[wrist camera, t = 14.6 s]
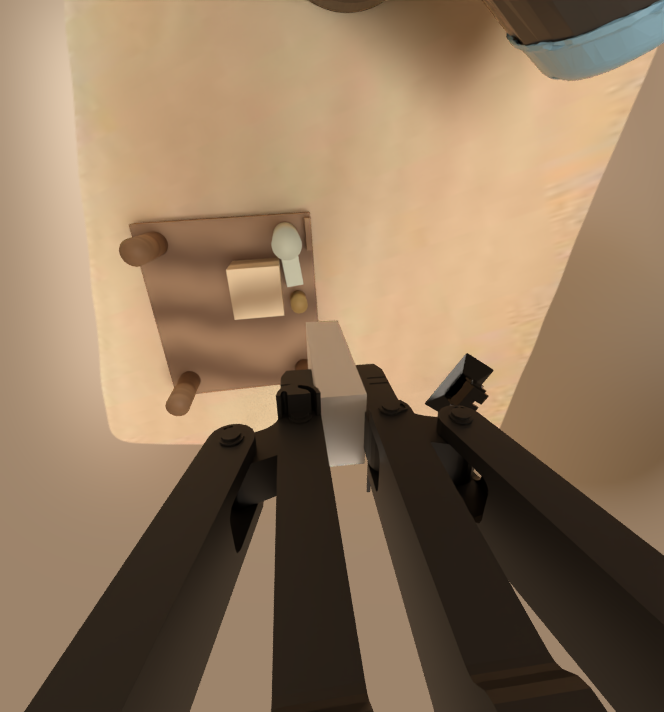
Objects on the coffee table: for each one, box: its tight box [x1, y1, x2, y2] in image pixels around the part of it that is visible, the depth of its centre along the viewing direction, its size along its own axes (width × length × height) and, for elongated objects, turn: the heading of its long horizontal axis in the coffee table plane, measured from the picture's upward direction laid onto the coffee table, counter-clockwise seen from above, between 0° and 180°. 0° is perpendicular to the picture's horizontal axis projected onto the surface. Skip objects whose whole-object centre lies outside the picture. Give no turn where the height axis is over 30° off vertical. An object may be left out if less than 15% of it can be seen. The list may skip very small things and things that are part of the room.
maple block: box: [226, 258, 284, 320], centre depth 37 cm, size 5×5×5 cm
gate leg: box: [271, 222, 303, 287], centre depth 35 cm, size 6×3×8 cm, turn 9°
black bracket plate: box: [425, 353, 493, 412], centre depth 49 cm, size 12×7×5 cm, turn 146°
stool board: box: [119, 212, 318, 416], centre depth 39 cm, size 20×18×8 cm
